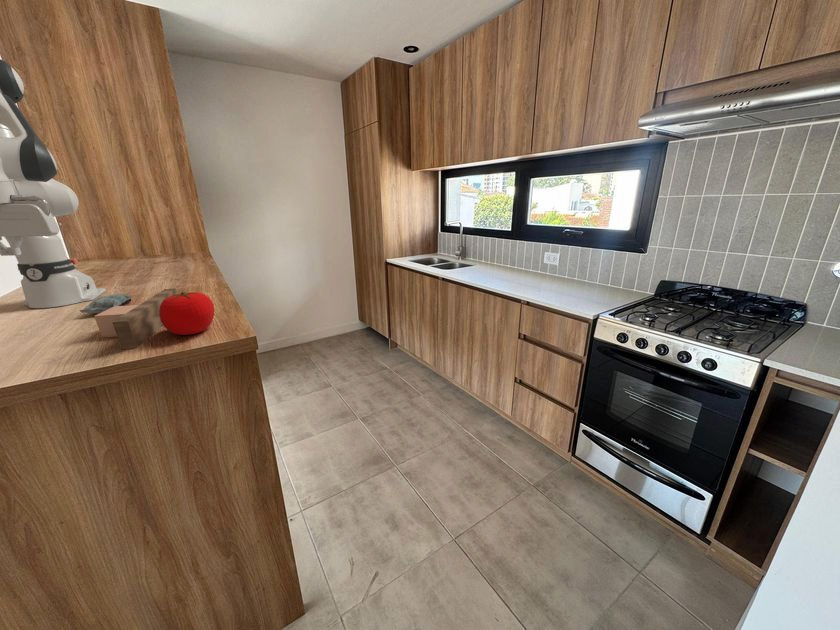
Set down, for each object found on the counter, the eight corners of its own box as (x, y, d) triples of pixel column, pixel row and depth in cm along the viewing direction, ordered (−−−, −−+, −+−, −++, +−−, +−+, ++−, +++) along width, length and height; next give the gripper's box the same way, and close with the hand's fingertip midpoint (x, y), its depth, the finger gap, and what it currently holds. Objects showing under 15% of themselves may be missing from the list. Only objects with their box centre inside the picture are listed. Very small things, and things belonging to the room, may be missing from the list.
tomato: (160, 344, 81) (147, 301, 77) (171, 326, 92) (160, 288, 88) (215, 336, 86) (206, 295, 82) (220, 320, 97) (211, 283, 93)
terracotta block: (121, 326, 92) (114, 306, 90) (153, 324, 94) (147, 304, 92) (102, 337, 85) (94, 315, 83) (137, 334, 87) (130, 313, 85)
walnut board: (170, 310, 105) (164, 289, 103) (181, 309, 106) (175, 288, 104) (121, 349, 78) (112, 322, 76) (136, 347, 79) (127, 320, 77)
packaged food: (82, 318, 98) (77, 303, 96) (103, 307, 109) (98, 292, 107) (118, 315, 101) (113, 300, 99) (135, 304, 111) (131, 290, 110)
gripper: (53, 195, 81) (73, 251, 86) (-62, 193, 75) (-33, 253, 80) (35, 196, 75) (57, 256, 80) (-91, 194, 69) (-59, 259, 74)
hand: (11, 255), depth 80 cm, fingers closed
